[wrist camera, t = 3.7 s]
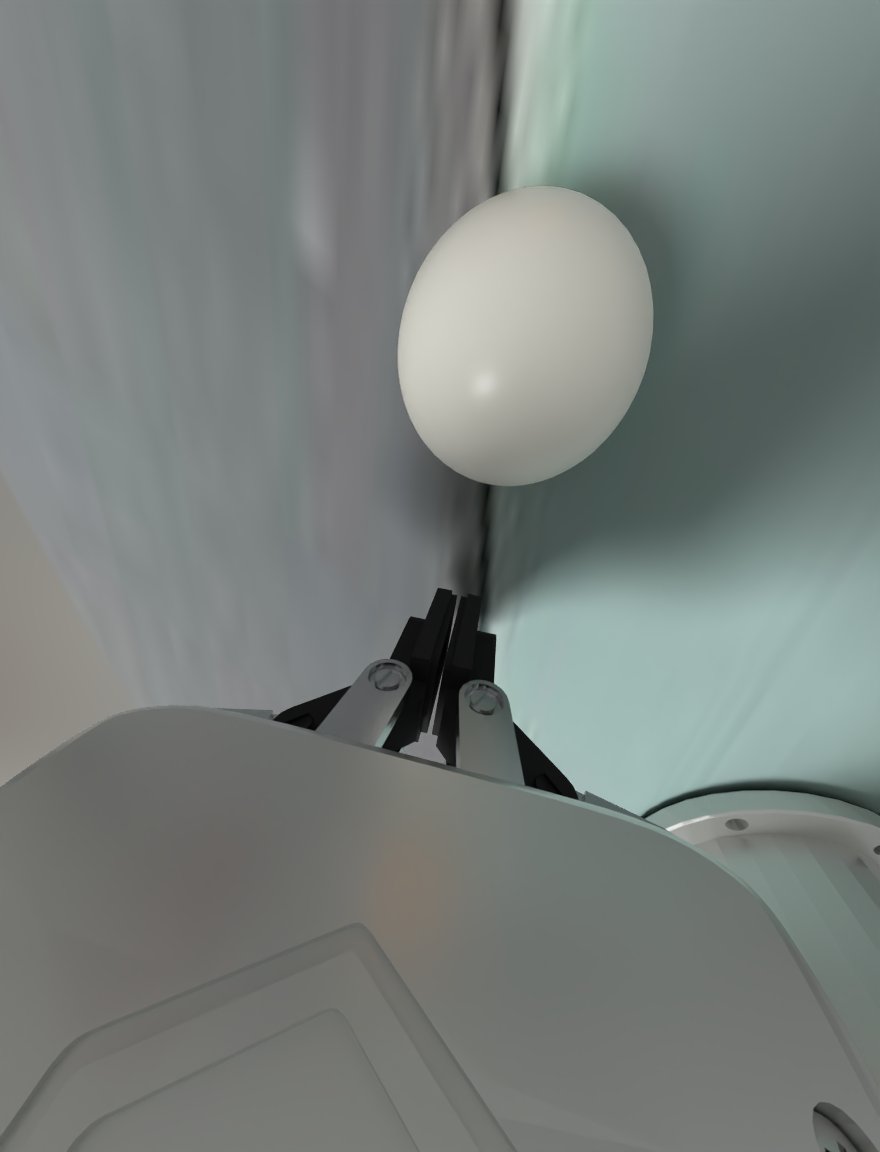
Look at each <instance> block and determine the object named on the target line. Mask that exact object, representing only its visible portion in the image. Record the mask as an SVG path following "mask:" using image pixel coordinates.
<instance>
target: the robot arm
mask: <svg viewBox="0 0 880 1152" xmlns="http://www.w3.org/2000/svg"><path fill="white" fill-rule="evenodd" d="M456 599H457V595H453V594H452V590H447V589H442V588H438V589H437V592H436V594H435V597H434V599H433V602H432V604H431V607H430V609H429V612H428V614H427V617H426V619H421V618H416V617H410V618H409V620H408V622H407V624H406V626H405V628H404V630H403V632H402V635H401V637H400V639H399V641H398V643H397V645H396V647H395V649H394V651H393V653H392V655H391V657H390V659H382V660H378V661H375V662H373V663H371V664H370V665H369V666H368V667H367V668H366V669H365V670H364V671H363V672H362V674H361V675H360V676H359V677H358V679H357V680H356V681H355V682H354V684H353V685H352V686H349V687H346V688H344V689H341V690H338V691H335V692H333V693H330V694H327V695H324V696H322V697H319V698H316V699H313V700H311V701H308V702H305V703H302V704H300V705H297V706H294V707H291V708H289V709H287V710H285V711H283V712H281V713H280V714H279V715H274V714H273V710H250V709H223V708H209V707H200V706H178V705H169V706H157V707H146V708H140V709H134V710H130V711H126V712H122V713H119V714H116V715H113V716H110V717H107V718H105V719H103V720H101V721H99V722H97V723H95V724H93V725H92V726H90V727H88V728H86V729H84V730H83V731H81V732H80V733H78V734H76V735H74V736H73V737H71V738H70V739H68V740H67V741H65V742H64V743H62V744H61V745H59V746H58V747H56V748H55V749H53V750H52V751H50V752H49V753H47V754H46V755H44V756H43V757H42V758H40V759H39V760H37V761H36V762H35V763H33V764H31V765H30V766H29V767H27V768H26V769H24V770H23V771H22V772H20V773H19V774H17V775H16V776H15V777H13V778H12V779H10V780H9V781H8V782H6V783H5V784H4V785H2V786H1V787H0V1152H880V816H879V815H877V814H875V813H873V812H871V811H869V810H867V809H864V808H861V807H858V806H855V805H852V804H849V803H846V802H843V801H840V800H837V799H832V798H827V797H822V796H817V795H812V794H808V793H799V792H788V791H778V790H741V791H732V792H723V793H714V794H709V795H705V796H700V797H696V798H691V799H687V800H684V801H681V802H678V803H676V804H673V805H670V806H667V807H665V808H663V809H661V810H659V811H657V812H655V813H654V814H652V815H650V816H648V817H646V818H645V819H644V818H642V817H640V816H638V815H636V814H633V813H631V812H629V811H627V810H625V809H623V808H621V807H619V806H617V805H615V804H613V803H610V802H608V801H606V800H604V799H602V798H600V797H598V796H596V795H594V794H592V793H589V792H587V791H585V793H584V795H583V794H581V793H579V792H577V791H575V789H574V787H573V785H572V784H571V783H570V782H569V780H568V779H567V778H566V777H565V776H564V775H563V774H562V772H561V771H560V770H559V769H558V768H557V767H556V766H555V765H554V764H553V763H552V762H551V761H550V760H549V759H548V758H547V757H546V756H545V755H544V754H543V752H542V751H541V750H540V749H539V748H538V747H537V746H536V745H535V744H534V743H533V742H532V741H531V740H530V739H529V738H528V737H527V736H526V735H525V734H524V732H523V731H522V730H521V729H520V728H519V727H518V726H517V725H516V724H515V723H514V722H513V720H512V714H511V709H510V704H509V700H508V697H507V695H506V694H505V693H504V691H503V690H502V689H501V688H500V687H498V686H497V685H495V684H494V670H495V652H496V635H495V634H490V633H486V632H481V631H477V628H478V621H479V614H480V607H481V600H482V597H481V596H476V595H471V594H468V595H467V597H462V596H461V600H460V604H459V608H458V612H457V616H456V620H455V624H454V628H453V632H452V635H451V639H450V633H451V627H452V622H453V616H454V610H455V605H456ZM449 639H450V643H449ZM448 644H449V647H448ZM447 650H448V651H447ZM443 668H444V669H443ZM442 672H443V674H442ZM441 675H442V680H441V686H440V691H439V697H438V703H437V708H436V714H435V720H434V726H433V731H432V734H433V735H437V736H438V739H437V744H436V747H437V748H438V749H439V751H440V752H441V754H442V755H443V757H444V758H445V762H444V764H441V763H437V762H434V761H430V760H426V759H422V758H418V757H414V756H411V755H407V754H403V751H404V747H405V746H407V745H409V744H411V743H413V742H414V741H415V742H418V740H419V736H420V733H421V732H425V733H427V731H428V727H429V723H430V719H431V715H432V711H433V707H434V703H435V699H436V695H437V691H438V687H439V683H440V679H441Z"/></svg>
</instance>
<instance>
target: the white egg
mask: <svg viewBox="0 0 880 1152" xmlns="http://www.w3.org/2000/svg"><path fill="white" fill-rule="evenodd" d="M652 336H653V300H652V290H651V284H650V280H649V276H648V272H647V268H646V265H645V263H644V260H643V258H642V255H641V253H640V250H639V248H638V246H637V244H636V243H635V241H634V239H633V238H632V236H631V234H630V233H629V231H628V230H627V229H626V227H625V226H624V225H623V224H622V223H621V221H620V220H619V219H618V218H617V217H616V216H615V215H614V214H613V213H612V212H611V211H609V210H608V209H607V208H606V207H604V206H603V205H602V204H601V203H599V202H597V201H596V200H594V199H592V198H590V197H588V196H586V195H585V194H583V193H579V192H576V191H573V190H570V189H567V188H562V187H554V186H530V187H523V188H519V189H515V190H510V191H506V192H504V193H502V194H499V195H497V196H494V197H492V198H490V199H487V200H486V201H484V202H483V203H481V204H479V205H478V206H476V207H474V208H473V209H471V210H470V211H468V212H467V213H466V214H465V215H464V216H462V217H461V218H460V219H459V220H457V221H456V222H455V223H454V224H453V225H452V226H451V227H450V228H449V229H448V230H447V231H446V232H445V233H444V235H443V236H442V237H441V238H440V239H439V240H438V242H437V243H436V244H435V246H434V247H433V248H432V250H431V251H430V252H429V254H428V255H427V257H426V259H425V260H424V262H423V264H422V266H421V268H420V269H419V271H418V273H417V275H416V277H415V280H414V282H413V284H412V287H411V289H410V291H409V294H408V297H407V301H406V304H405V307H404V310H403V315H402V320H401V326H400V331H399V341H398V372H399V380H400V387H401V391H402V395H403V400H404V403H405V406H406V409H407V411H408V414H409V417H410V419H411V421H412V423H413V425H414V427H415V429H416V431H417V432H418V434H419V435H420V437H421V439H422V440H423V442H424V443H425V444H426V445H427V447H428V448H429V449H430V450H431V451H432V452H433V454H434V455H435V456H437V457H438V458H439V459H440V460H441V461H442V462H443V463H444V464H446V465H447V466H449V467H450V468H451V469H453V470H454V471H456V472H458V473H460V474H462V475H463V476H465V477H467V478H470V479H473V480H475V481H478V482H481V483H486V484H491V485H497V486H521V485H527V484H533V483H537V482H540V481H543V480H547V479H550V478H552V477H554V476H557V475H559V474H561V473H563V472H565V471H567V470H569V469H570V468H572V467H574V466H575V465H577V464H578V463H580V462H581V461H583V460H584V459H585V458H586V457H588V456H589V455H590V454H592V453H593V452H594V451H595V450H596V449H597V448H598V447H599V446H600V445H601V444H602V443H603V442H604V441H605V440H606V439H607V438H608V437H609V436H610V434H611V433H612V432H613V431H614V430H615V428H616V427H617V426H618V424H619V423H620V421H621V420H622V418H623V417H624V415H625V414H626V412H627V411H628V409H629V407H630V405H631V403H632V402H633V400H634V398H635V396H636V394H637V392H638V389H639V387H640V384H641V381H642V379H643V376H644V374H645V370H646V366H647V362H648V359H649V355H650V350H651V343H652Z"/></svg>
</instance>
